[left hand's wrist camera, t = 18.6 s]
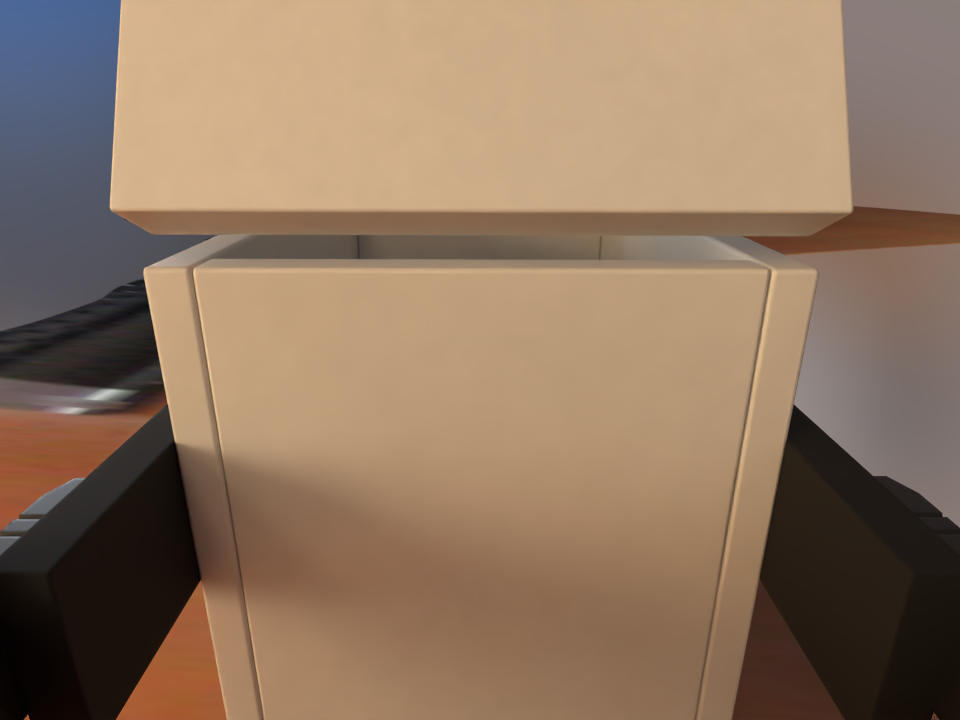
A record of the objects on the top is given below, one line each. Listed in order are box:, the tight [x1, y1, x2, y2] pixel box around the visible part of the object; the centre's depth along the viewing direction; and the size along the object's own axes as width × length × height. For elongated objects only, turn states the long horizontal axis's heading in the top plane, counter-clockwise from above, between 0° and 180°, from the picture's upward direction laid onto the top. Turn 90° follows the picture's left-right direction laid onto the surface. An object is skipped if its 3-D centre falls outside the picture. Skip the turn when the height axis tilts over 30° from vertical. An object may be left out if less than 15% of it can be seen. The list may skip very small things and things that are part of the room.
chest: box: [143, 235, 819, 720], centre depth 17 cm, size 13×10×11 cm
